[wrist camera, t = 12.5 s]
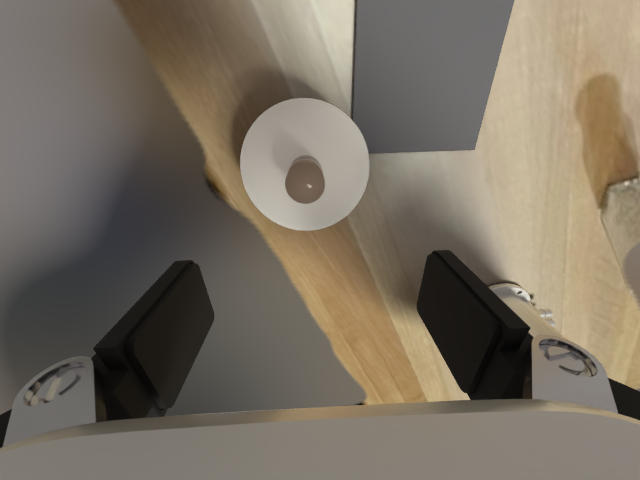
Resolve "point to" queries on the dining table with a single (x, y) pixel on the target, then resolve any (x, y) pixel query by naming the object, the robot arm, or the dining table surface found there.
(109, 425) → the robot arm
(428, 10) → the mat
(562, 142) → the dining table surface
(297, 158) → the lid
